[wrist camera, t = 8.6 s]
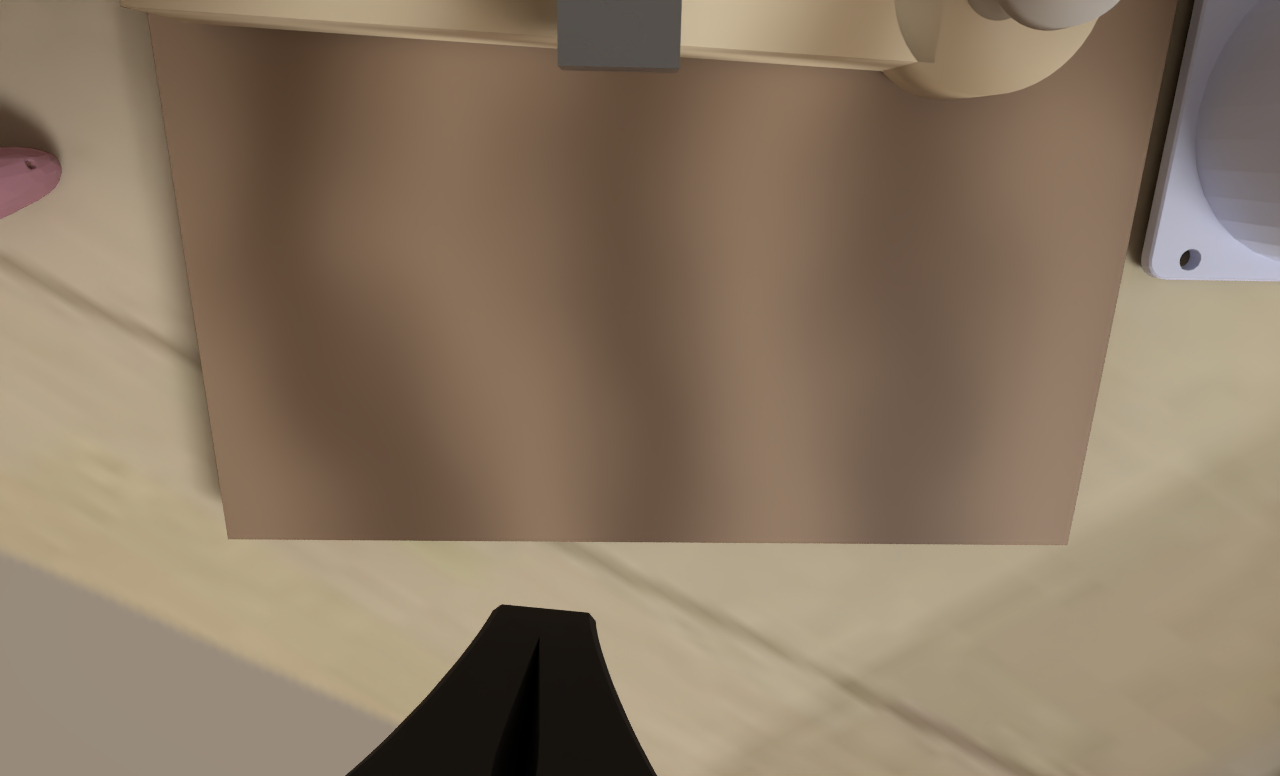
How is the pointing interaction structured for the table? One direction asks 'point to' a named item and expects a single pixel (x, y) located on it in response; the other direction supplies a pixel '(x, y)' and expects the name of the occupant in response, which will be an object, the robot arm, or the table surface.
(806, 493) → the walnut board
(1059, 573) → the table surface
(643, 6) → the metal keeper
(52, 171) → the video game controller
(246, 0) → the wooden link
